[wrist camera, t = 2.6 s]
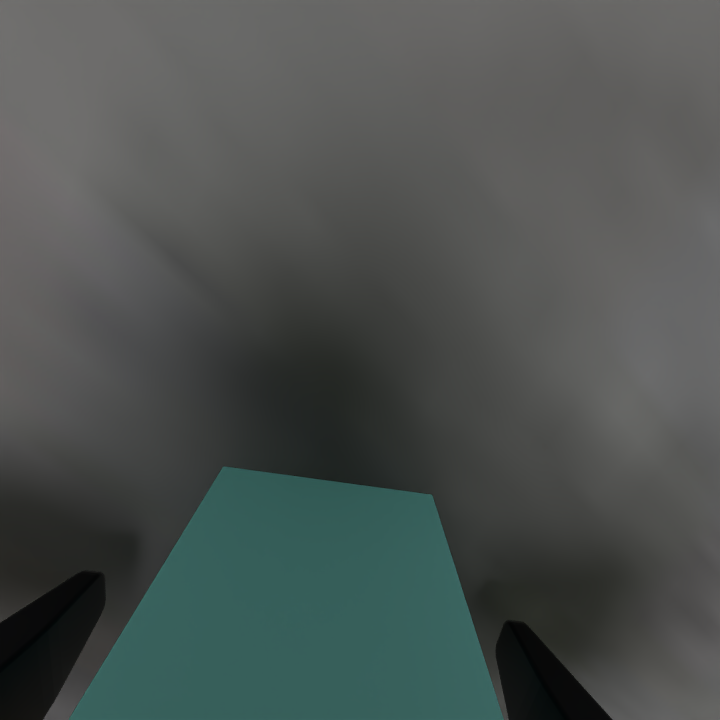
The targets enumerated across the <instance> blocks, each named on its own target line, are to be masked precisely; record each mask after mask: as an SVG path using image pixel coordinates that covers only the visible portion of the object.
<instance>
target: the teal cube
mask: <svg viewBox="0 0 720 720" xmlns="http://www.w3.org/2000/svg"><path fill="white" fill-rule="evenodd" d="M69 720H504V719H503V716H502V713H501V710H500V706H499V703H498V700H497V697H496V694H495V691H494V688H493V684H492V681H491V678H490V675H489V672H488V669H487V666H486V662H485V659H484V656H483V653H482V650H481V647H480V644H479V640H478V637H477V634H476V631H475V628H474V625H473V622H472V618H471V615H470V612H469V609H468V606H467V603H466V600H465V596H464V593H463V590H462V587H461V584H460V581H459V578H458V574H457V571H456V568H455V565H454V562H453V559H452V556H451V553H450V549H449V546H448V543H447V540H446V537H445V534H444V531H443V527H442V524H441V521H440V518H439V515H438V512H437V509H436V505H435V502H434V499H433V496H432V495H431V494H423V493H416V492H408V491H401V490H394V489H386V488H379V487H372V486H364V485H357V484H350V483H342V482H335V481H327V480H320V479H313V478H305V477H298V476H291V475H283V474H276V473H269V472H261V471H254V470H246V469H239V468H232V467H224V466H223V468H222V469H221V471H220V473H219V474H218V476H217V477H216V479H215V481H214V482H213V484H212V486H211V487H210V489H209V491H208V492H207V494H206V495H205V497H204V499H203V500H202V502H201V504H200V505H199V507H198V509H197V510H196V512H195V513H194V515H193V517H192V518H191V520H190V522H189V523H188V525H187V527H186V528H185V530H184V531H183V533H182V535H181V536H180V538H179V540H178V541H177V543H176V545H175V546H174V548H173V549H172V551H171V553H170V554H169V556H168V558H167V559H166V561H165V563H164V564H163V566H162V567H161V569H160V571H159V572H158V574H157V576H156V577H155V579H154V581H153V582H152V584H151V585H150V587H149V589H148V590H147V592H146V594H145V595H144V597H143V599H142V600H141V602H140V603H139V605H138V607H137V608H136V610H135V612H134V613H133V615H132V617H131V618H130V620H129V621H128V623H127V625H126V626H125V628H124V630H123V631H122V633H121V635H120V636H119V638H118V639H117V641H116V643H115V644H114V646H113V648H112V649H111V651H110V653H109V654H108V656H107V658H106V659H105V661H104V662H103V664H102V666H101V667H100V669H99V671H98V672H97V674H96V676H95V677H94V679H93V680H92V682H91V684H90V685H89V687H88V689H87V690H86V692H85V694H84V695H83V697H82V698H81V700H80V702H79V703H78V705H77V707H76V708H75V710H74V712H73V713H72V715H71V716H70V718H69Z"/></svg>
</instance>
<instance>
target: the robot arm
mask: <svg viewBox="0 0 720 720" xmlns="http://www.w3.org/2000/svg"><path fill="white" fill-rule="evenodd" d="M105 600H106V599H105V577H104V574H103V573H102V572H97V571H88V570H85V571H82V572H79V573H77V574H76V575H74V576H73V577H71V578H70V579H68V580H66V581H65V582H63V583H62V584H60V585H59V586H57V587H56V588H54V589H52V590H51V591H49V592H48V593H46V594H45V595H43V596H41V597H40V598H38V599H37V600H35V601H34V602H32V603H30V604H29V605H27V606H26V607H24V608H23V609H21V610H19V611H18V612H16V613H15V614H13V615H12V616H10V617H8V618H7V619H5V620H4V621H2V622H1V623H0V720H43V718H44V717H45V715H46V714H47V712H48V710H49V709H50V707H51V706H52V704H53V702H54V701H55V699H56V697H57V695H58V694H59V692H60V690H61V688H62V686H63V685H64V683H65V681H66V679H67V677H68V675H69V673H70V672H71V670H72V668H73V666H74V664H75V662H76V660H77V659H78V657H79V655H80V653H81V651H82V649H83V647H84V645H85V644H86V642H87V640H88V638H89V636H90V634H91V632H92V630H93V629H94V627H95V625H96V623H97V621H98V619H99V617H100V616H101V614H102V611H103V609H104V606H105ZM496 659H497V664H498V669H499V674H500V679H501V684H502V689H503V694H504V698H505V703H506V708H507V713H508V718H509V720H612V719H611V718H610V716H609V715H608V714H607V713H606V712H605V711H604V710H603V709H602V708H601V706H600V705H599V704H598V703H597V702H596V701H595V700H594V699H593V698H592V696H591V695H590V694H589V693H588V692H587V691H586V690H585V689H584V688H583V686H582V685H581V684H580V683H579V682H578V681H577V680H576V679H575V678H574V676H573V675H572V674H571V673H570V672H569V671H568V670H567V669H566V668H565V666H564V665H563V664H562V663H561V662H560V661H559V660H558V659H557V658H556V656H555V655H554V654H553V653H552V652H551V651H550V650H549V649H548V648H547V646H546V645H545V644H544V643H543V642H542V641H541V640H540V639H539V638H538V636H537V635H536V634H535V633H534V632H533V631H532V630H531V629H530V628H529V626H528V625H526V624H525V623H524V622H521V621H512V620H507V621H506V622H505V623H504V625H503V628H502V631H501V633H500V636H499V639H498V641H497V644H496Z"/></svg>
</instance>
